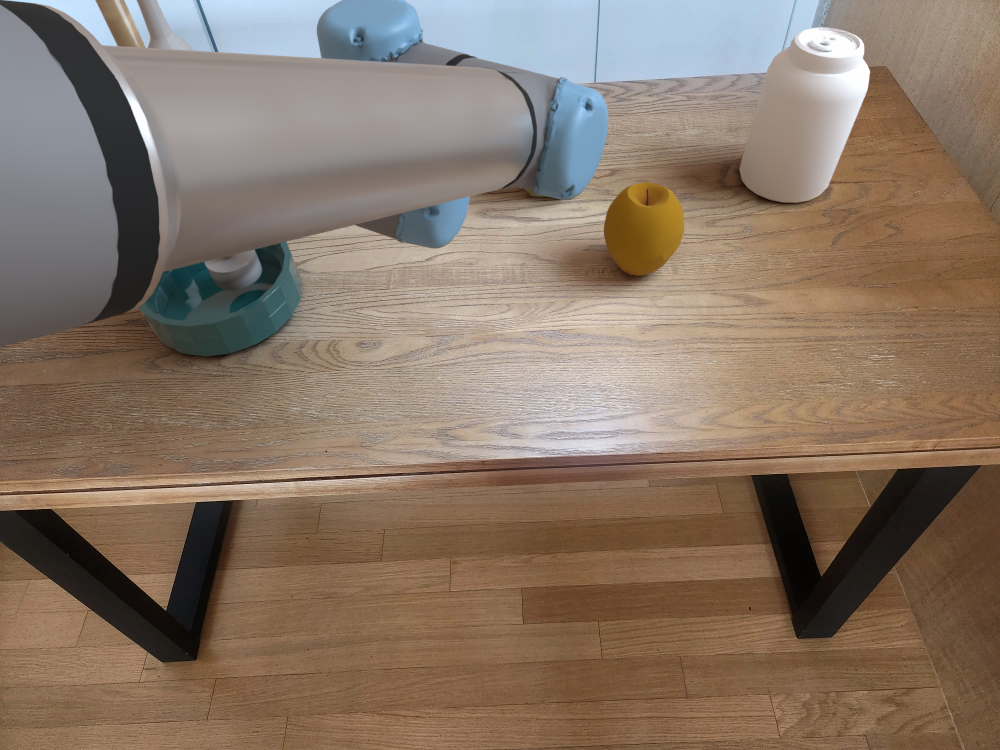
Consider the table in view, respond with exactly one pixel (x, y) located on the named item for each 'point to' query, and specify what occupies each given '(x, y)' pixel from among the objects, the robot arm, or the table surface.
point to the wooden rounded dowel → (223, 271)
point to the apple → (643, 228)
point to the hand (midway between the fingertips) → (130, 116)
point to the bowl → (223, 306)
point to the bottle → (160, 28)
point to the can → (805, 115)
